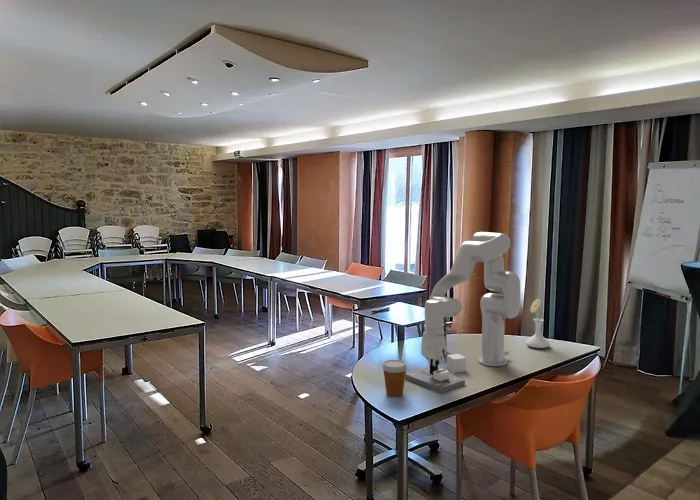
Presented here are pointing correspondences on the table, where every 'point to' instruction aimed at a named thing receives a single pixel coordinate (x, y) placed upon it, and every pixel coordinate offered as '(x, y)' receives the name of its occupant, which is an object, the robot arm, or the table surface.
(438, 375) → the fader
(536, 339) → the flower in vase
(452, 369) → the white cube
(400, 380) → the disposable coffee cup
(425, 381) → the console
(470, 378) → the table surface
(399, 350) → the table surface
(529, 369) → the table surface
